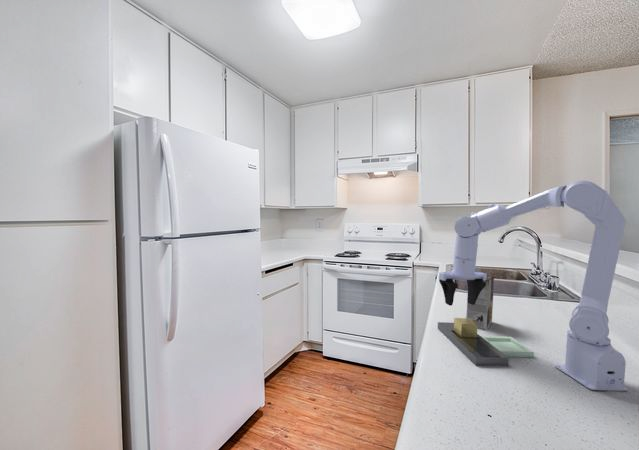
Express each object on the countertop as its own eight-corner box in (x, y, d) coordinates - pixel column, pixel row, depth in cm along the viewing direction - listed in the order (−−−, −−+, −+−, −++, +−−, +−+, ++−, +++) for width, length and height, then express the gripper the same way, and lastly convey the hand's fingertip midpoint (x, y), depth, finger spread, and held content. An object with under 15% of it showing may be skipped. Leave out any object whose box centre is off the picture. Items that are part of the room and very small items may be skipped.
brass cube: (476, 345, 81) (477, 324, 81) (460, 345, 81) (461, 323, 81) (468, 338, 85) (469, 318, 85) (453, 338, 85) (454, 318, 85)
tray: (533, 357, 75) (534, 352, 75) (498, 356, 75) (499, 351, 74) (510, 341, 84) (510, 336, 84) (479, 341, 84) (479, 336, 83)
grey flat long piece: (508, 365, 70) (508, 357, 70) (475, 365, 70) (475, 356, 70) (462, 329, 92) (463, 322, 92) (437, 328, 92) (437, 321, 92)
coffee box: (471, 317, 103) (473, 272, 102) (492, 322, 99) (494, 275, 98) (465, 324, 96) (467, 276, 95) (487, 330, 92) (490, 279, 91)
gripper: (475, 255, 89) (470, 298, 91) (434, 255, 86) (429, 299, 87) (494, 260, 83) (489, 307, 84) (450, 260, 79) (445, 308, 80)
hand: (460, 304), depth 85 cm, fingers open, 7 cm apart
